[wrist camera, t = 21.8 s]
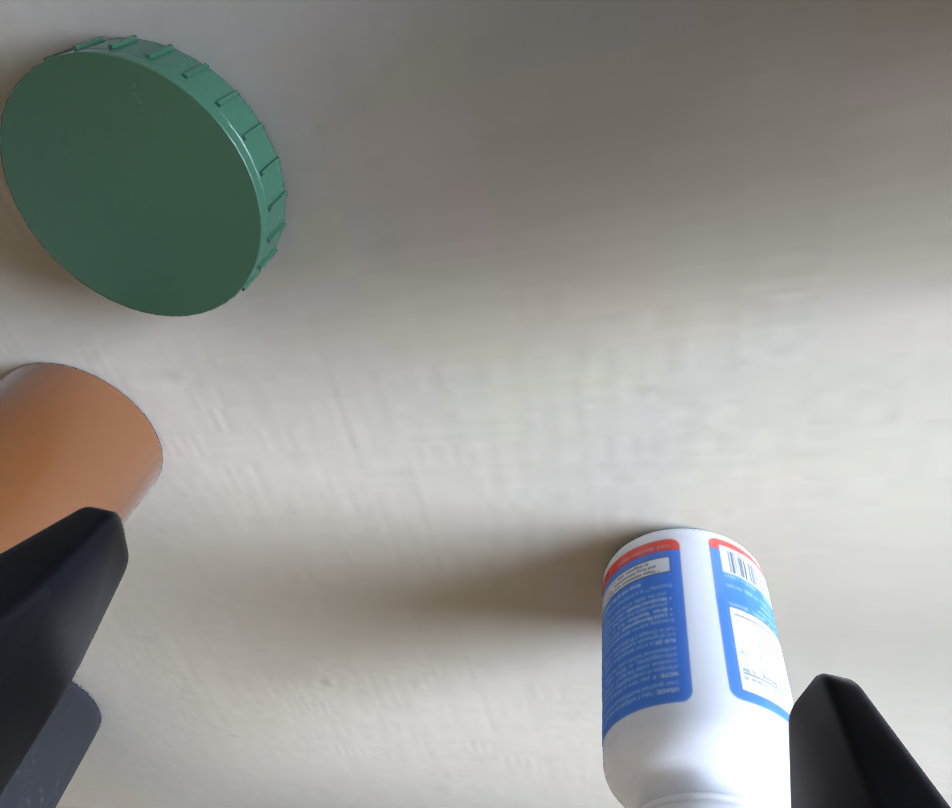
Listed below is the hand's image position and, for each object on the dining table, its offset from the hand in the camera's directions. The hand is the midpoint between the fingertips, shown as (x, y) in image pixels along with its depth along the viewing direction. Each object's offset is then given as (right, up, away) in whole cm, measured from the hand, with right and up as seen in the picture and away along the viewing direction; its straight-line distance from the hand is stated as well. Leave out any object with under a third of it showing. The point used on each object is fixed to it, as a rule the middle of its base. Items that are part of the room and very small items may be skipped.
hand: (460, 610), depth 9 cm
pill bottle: (+7, -3, +16) cm, 18 cm away
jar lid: (-8, +8, +9) cm, 15 cm away
